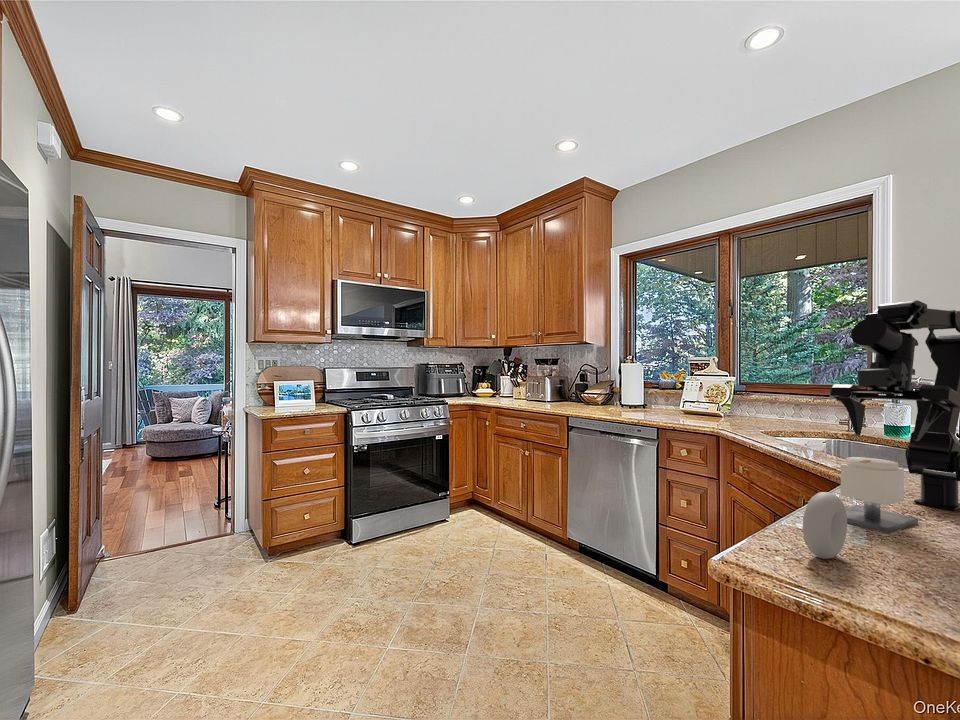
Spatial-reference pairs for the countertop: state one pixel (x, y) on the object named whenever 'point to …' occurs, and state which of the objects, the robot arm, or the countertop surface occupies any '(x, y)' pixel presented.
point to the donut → (825, 525)
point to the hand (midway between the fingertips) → (885, 437)
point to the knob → (872, 480)
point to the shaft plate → (877, 518)
